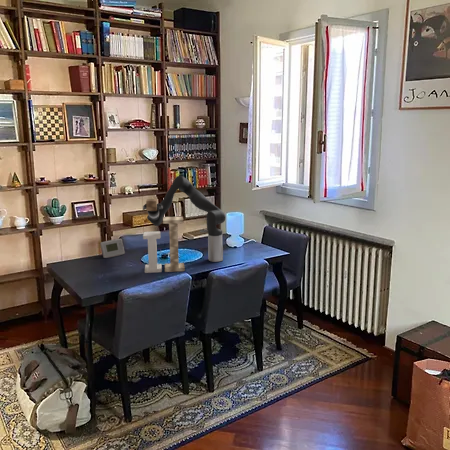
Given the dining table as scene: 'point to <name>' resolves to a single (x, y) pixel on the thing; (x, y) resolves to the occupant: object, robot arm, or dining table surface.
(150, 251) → the white column stand
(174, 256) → the marbled pedestal stand
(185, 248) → the dining table surface
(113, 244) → the digital clock
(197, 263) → the dining table surface
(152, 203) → the teal and brown block
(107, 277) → the dining table surface
